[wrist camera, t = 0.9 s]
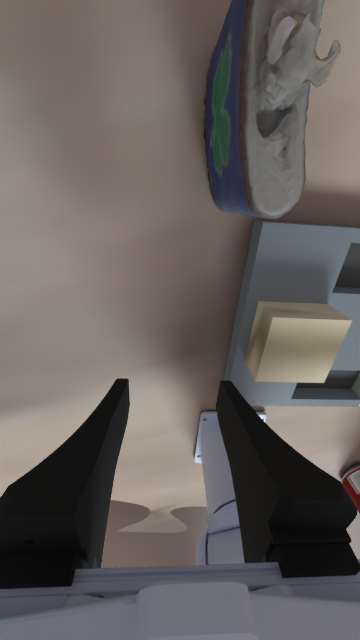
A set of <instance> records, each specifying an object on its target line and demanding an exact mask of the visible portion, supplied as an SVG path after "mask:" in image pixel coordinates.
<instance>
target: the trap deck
mask: <svg viewBox="0 0 360 640" xmlns="http://www.w3.org/2000/svg"><path fill="white" fill-rule="evenodd" d="M258 301H268V302H291V303H315V304H328V305H330V306H331V307H333V308H334V309H336V310H337V311H339V312H340V313H342V314H344V315H345V316H347V317H348V318H350V319H351V320H353V321H352V323H351V325H350V327H349V329H348V331H347V334H346V336H345V338H344V340H343V342H342V345H341V347H340V349H339V351H338V353H337V356H336V358H335V360H334V362H333V364H332V367H331V369H330V371H329V373H328V375H327V378H326V380H325V382H324V383H298V382H255V380H254V378H253V376H252V374H251V372H250V370H249V368H248V365H247V363H246V361H245V356H246V352H247V348H248V344H249V339H250V335H251V331H252V327H253V322H254V318H255V314H256V310H257V306H258ZM223 381H231V382H232V383H233V384H234V385H235V387H236V388H237V389H238V391H239V392H240V393H241V395H242V396H243V397H244V399H245V400H246V401H247V402H248V404H249V405H261V406H343V407H360V227H352V226H337V225H322V224H307V223H292V222H277V221H262V220H254V223H253V228H252V233H251V238H250V244H249V249H248V254H247V259H246V264H245V269H244V275H243V280H242V285H241V290H240V295H239V301H238V306H237V311H236V316H235V321H234V326H233V332H232V337H231V342H230V347H229V352H228V358H227V363H226V368H225V373H224V378H223Z"/></svg>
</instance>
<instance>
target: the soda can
mask: <svg viewBox="0 0 360 640" xmlns="http://www.w3.org/2000/svg"><path fill="white" fill-rule="evenodd" d="M341 483H342V485H343V486H344V487H345V489H346V490H347V492H348V494H349V495H350V497H351V499H352V500H353V502H354V504H355V505H356V507H357V510H358V512H359V513H360V464H357V465H354V466H352V467H351V468H349V469H348V470H347V471H346V472H345V475H344V476H343V478H342V480H341Z"/></svg>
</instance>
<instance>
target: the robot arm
mask: <svg viewBox="0 0 360 640" xmlns="http://www.w3.org/2000/svg"><path fill="white" fill-rule="evenodd" d="M129 406H130V401H129V381H128V379H116V380H115V382H114V384H113V385H112V387H111V388H110V390H109V391H108V393H107V394H106V396H105V397H104V398H103V400H102V401H101V402H100V404H99V405H98V406H97V408H96V409H95V410H94V411H93V413H92V414H91V415H90V416H89V417H88V419H87V420H86V421H85V422H84V423H83V424H82V425H81V426H80V427H79V428H78V429H77V431H76V432H75V433H74V434H73V435H72V436H71V437H69V438H68V439H67V440H66V441H65V442H64V443H63V444H62V445H61V446H60V447H59V448H58V449H57V450H55V451H54V452H53V453H52V454H51V455H49V456H48V457H47V458H46V459H44V460H43V461H42V462H41V463H40V464H38V465H37V466H36V467H35V468H33V469H32V470H31V471H29V472H28V473H26V474H25V475H24V476H22V477H21V478H19V479H18V480H17V481H15V482H14V483H12V484H11V485H9V486H8V488H7V489H6V491H5V492H4V494H3V495H2V496H1V498H0V640H360V559H357V558H356V556H355V554H354V552H353V550H352V548H351V546H350V545H349V543H350V542H351V538H350V536H349V535H348V533H347V531H346V528H347V527H348V526H349V525H350V524H351V522H352V521H353V520H354V519H355V517H356V515H357V507H356V505H355V504H354V502H353V500H352V499H351V497H350V495H349V494H348V492H347V490H346V489H345V487H344V486H343V485H342V483H341V482H340V481H338V480H337V479H335V478H334V477H332V476H331V475H329V474H328V473H326V472H325V471H323V470H321V469H320V468H318V467H317V466H316V465H314V464H313V463H312V462H310V461H309V460H307V459H306V458H305V457H303V456H302V455H301V454H299V453H298V452H297V451H296V450H295V449H293V448H292V447H291V446H290V445H288V444H287V443H286V442H285V441H284V440H283V439H281V438H280V437H279V436H278V435H277V434H276V433H275V432H274V431H273V430H272V429H271V428H270V427H269V426H268V425H267V424H266V423H265V421H266V418H267V415H266V413H265V412H255V411H254V410H253V408H252V407H251V406H250V405H249V404H248V402H247V401H246V400H245V399H244V397H243V396H242V395H241V393H240V392H239V391H238V389H237V388H236V387H235V385H234V384H233V383H232V382H231V381H220V386H219V392H218V397H217V402H216V410H217V412H207V411H205V412H202V413H201V416H200V422H199V429H198V436H197V443H196V449H195V456H194V461H195V462H196V463H202V467H203V475H204V483H205V491H206V499H207V507H208V512H209V515H210V516H207V517H206V520H207V528H208V530H206V531H203V532H202V534H201V536H200V540H199V543H198V546H197V552H196V565H179V566H150V567H123V568H122V567H121V568H101V562H102V554H103V546H104V540H105V532H106V525H107V519H108V512H109V506H110V499H111V493H112V487H113V481H114V475H115V469H116V464H117V460H118V456H119V452H120V448H121V444H122V441H123V437H124V433H125V429H126V425H127V420H128V413H129ZM204 418H205V419H204Z"/></svg>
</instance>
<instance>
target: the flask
mask: <svg viewBox="0 0 360 640" xmlns="http://www.w3.org/2000/svg"><path fill="white" fill-rule="evenodd" d="M323 3H324V0H232V2H231V5H230V8H229V11H228V13H227V15H226V18H225V22H224V25H223V28H222V31H221V33H220V37H219V40H218V42H217V45H216V47H215V49H214V51H213V54H212V57H211V59H210V67H209V69H208V73H207V78H206V81H207V82H206V94H205V99H204V105H205V109H204V121H203V123H204V139H205V145H206V150H205V151H206V157H207V168H208V177H209V178H208V179H209V183H210V191H211V195H212V197H213V200H214V202H215V204H216V206H217V207H218V208H219V209H220V210H221V211H223V212H232V213H238V214H244V215H249V216H255V217H260V218H263V219H277V218H280V217H282V216H284V215H285V214H287V213H288V212H290V211H291V210H292V209H293V207H295V206H296V205H297V204H298V203H299V201H300V198H301V196H302V193H303V188H304V183H305V126H306V121H307V114H306V112H307V109H308V99H309V90H310V82H312V84H313V86H315V87H318V86H320V85H322V84H323V83H324V82H326V81H327V78H328V76H329V74H330V72H331V68H332V65H333V63H334V61H335V60H336V58H337V57H338V55H339V53H340V44H339V42H338V41H337V40H334V42H333V45H332V47H331V49H330V51H329V54H328V56H327V57H326V58H324V59H322V60H321V59H320V58H319V57H318V56H317V54H316V51H315V47H316V43H317V40H318V38H319V35H320V31H321V29H319V24H320V20H321V15H322V9H323Z"/></svg>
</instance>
